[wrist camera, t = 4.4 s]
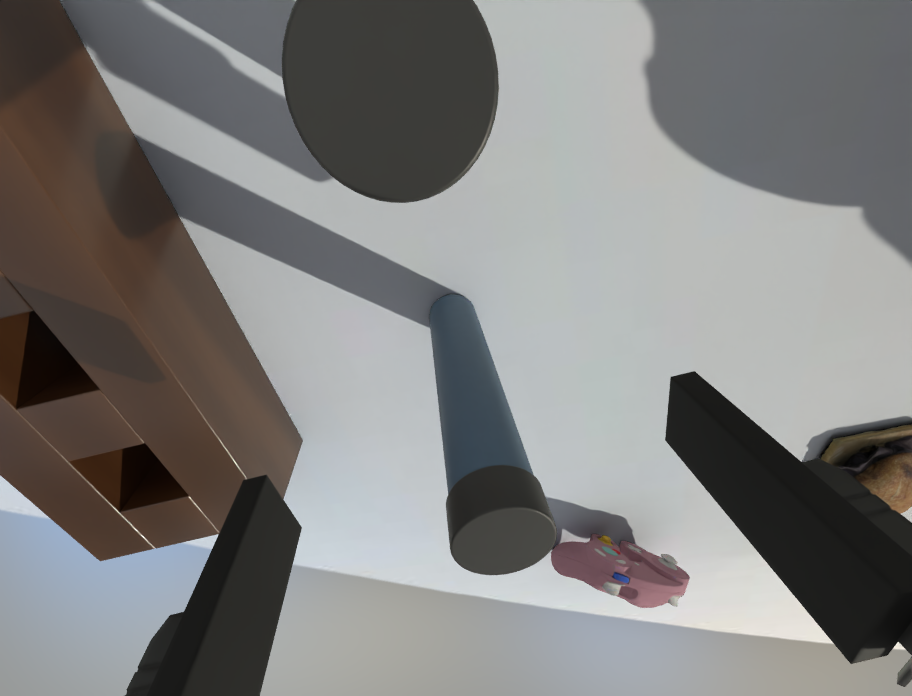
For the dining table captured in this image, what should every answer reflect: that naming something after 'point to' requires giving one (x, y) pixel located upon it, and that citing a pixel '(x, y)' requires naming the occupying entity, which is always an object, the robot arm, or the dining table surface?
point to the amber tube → (391, 91)
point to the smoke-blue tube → (483, 453)
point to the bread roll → (878, 463)
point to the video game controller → (622, 570)
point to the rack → (112, 320)
